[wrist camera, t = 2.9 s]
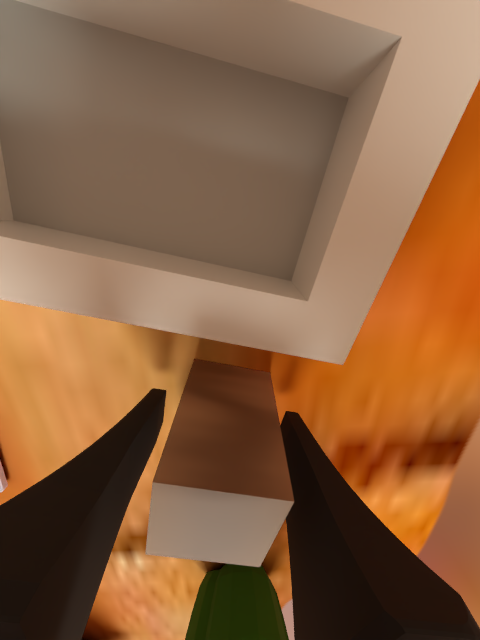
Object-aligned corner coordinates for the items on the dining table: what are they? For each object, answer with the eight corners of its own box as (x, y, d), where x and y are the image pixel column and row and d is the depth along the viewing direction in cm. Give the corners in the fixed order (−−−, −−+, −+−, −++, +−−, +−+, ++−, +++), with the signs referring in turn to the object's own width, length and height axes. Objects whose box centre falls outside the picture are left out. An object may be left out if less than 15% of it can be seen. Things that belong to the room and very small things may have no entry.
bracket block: (185, 415, 13) (145, 554, 8) (194, 358, 12) (152, 482, 6) (252, 426, 14) (259, 567, 8) (270, 372, 12) (294, 501, 6)
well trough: (-20, 259, 10) (-123, 275, 7) (-114, -140, 6) (-446, -474, 3) (317, 328, 11) (343, 365, 8) (431, 37, 7) (557, -83, 4)
